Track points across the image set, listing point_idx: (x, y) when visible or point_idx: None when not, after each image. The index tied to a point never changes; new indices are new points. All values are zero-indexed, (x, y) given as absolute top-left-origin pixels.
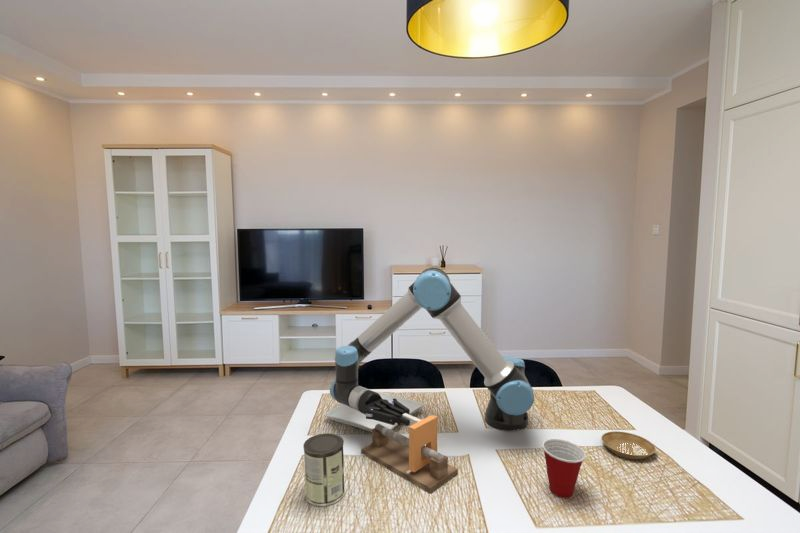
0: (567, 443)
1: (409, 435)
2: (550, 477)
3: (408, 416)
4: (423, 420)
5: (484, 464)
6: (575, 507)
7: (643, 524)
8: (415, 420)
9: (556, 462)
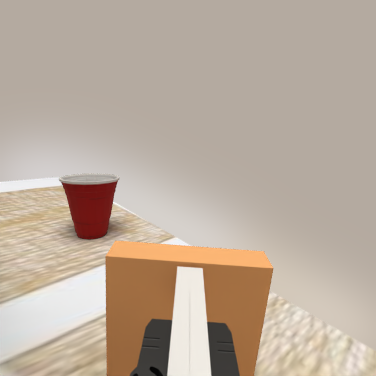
0: (63, 179)
1: (265, 300)
2: (105, 216)
3: (196, 324)
4: (180, 256)
5: (52, 312)
6: (118, 224)
7: (114, 203)
8: (203, 279)
9: (115, 186)
